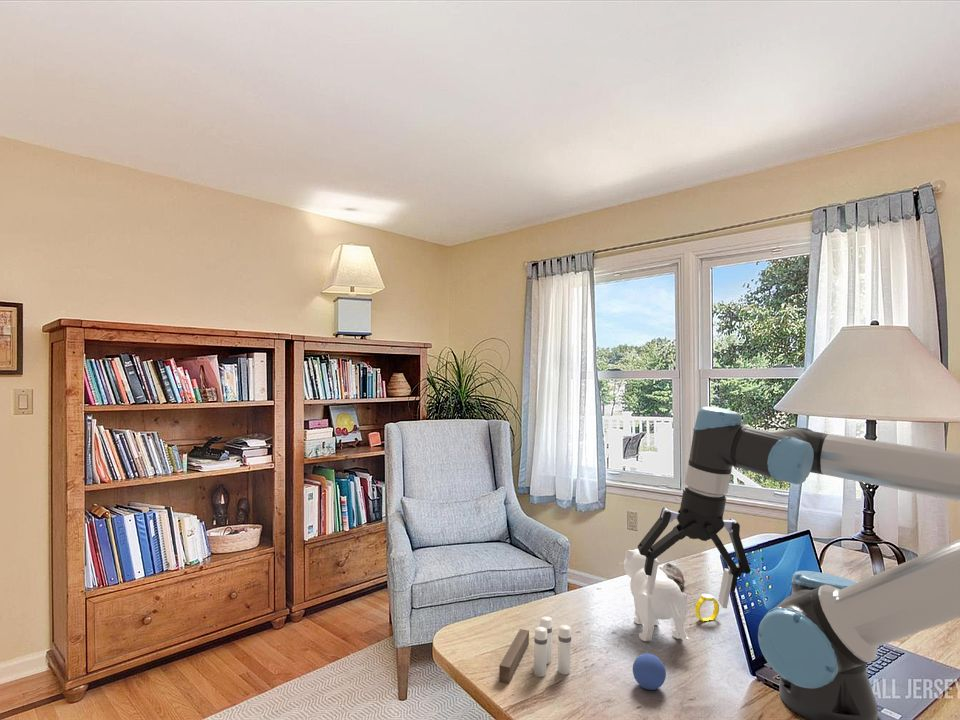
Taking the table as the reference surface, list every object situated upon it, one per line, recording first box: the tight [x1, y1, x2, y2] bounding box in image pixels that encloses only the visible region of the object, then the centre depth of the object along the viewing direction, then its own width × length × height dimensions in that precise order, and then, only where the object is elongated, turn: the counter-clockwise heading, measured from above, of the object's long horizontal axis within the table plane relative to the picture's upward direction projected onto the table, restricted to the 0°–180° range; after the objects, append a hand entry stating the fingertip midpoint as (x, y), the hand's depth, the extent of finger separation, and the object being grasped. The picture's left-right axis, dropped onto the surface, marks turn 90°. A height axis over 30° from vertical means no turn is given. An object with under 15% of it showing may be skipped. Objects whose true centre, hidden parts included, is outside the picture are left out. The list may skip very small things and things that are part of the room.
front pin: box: [557, 624, 572, 676], centre depth 112 cm, size 2×2×8 cm
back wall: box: [498, 628, 530, 684], centre depth 115 cm, size 2×16×3 cm, turn 162°
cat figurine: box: [617, 548, 690, 642], centre depth 129 cm, size 25×10×17 cm, turn 15°
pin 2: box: [533, 626, 547, 678], centre depth 111 cm, size 2×2×8 cm
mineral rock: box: [658, 562, 686, 591], centre depth 157 cm, size 15×8×4 cm, turn 139°
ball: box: [632, 653, 667, 691], centre depth 107 cm, size 6×6×6 cm
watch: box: [694, 593, 720, 623], centre depth 136 cm, size 6×3×6 cm, turn 108°
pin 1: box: [539, 616, 553, 665], centre depth 115 cm, size 2×2×8 cm
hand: (685, 598), depth 108 cm, fingers open, 13 cm apart
